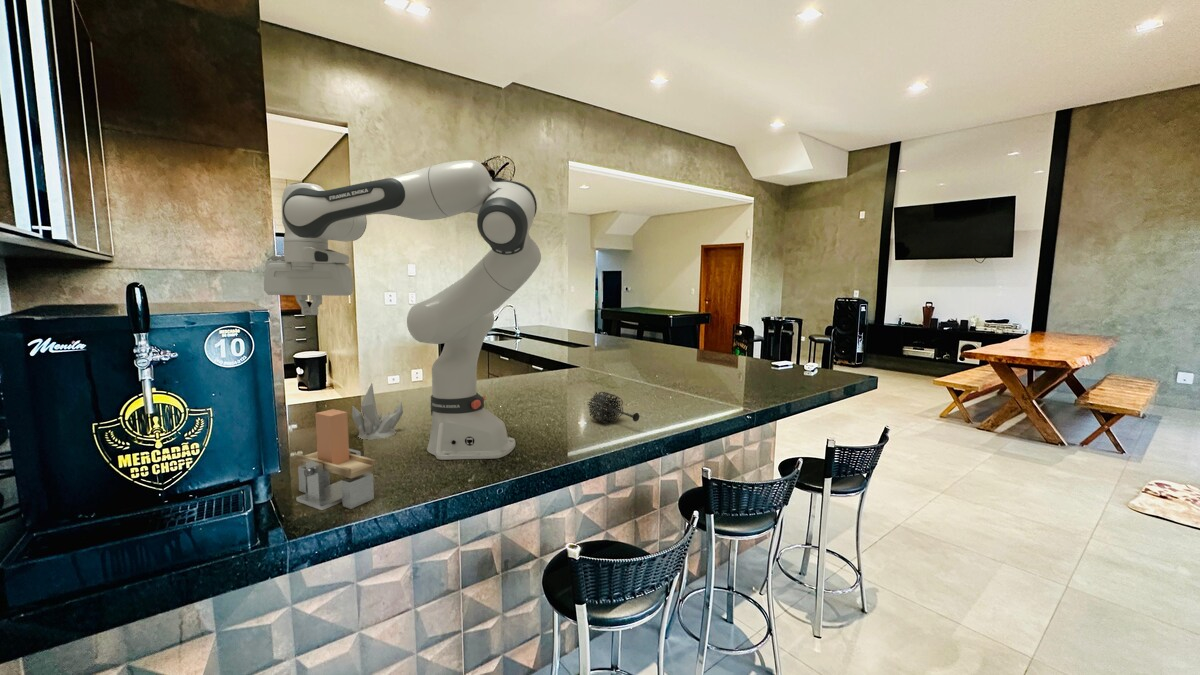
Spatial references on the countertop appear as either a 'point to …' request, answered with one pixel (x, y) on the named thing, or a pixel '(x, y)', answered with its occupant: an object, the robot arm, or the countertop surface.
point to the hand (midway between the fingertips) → (310, 315)
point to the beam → (348, 469)
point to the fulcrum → (333, 487)
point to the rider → (332, 436)
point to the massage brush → (610, 406)
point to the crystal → (374, 419)
